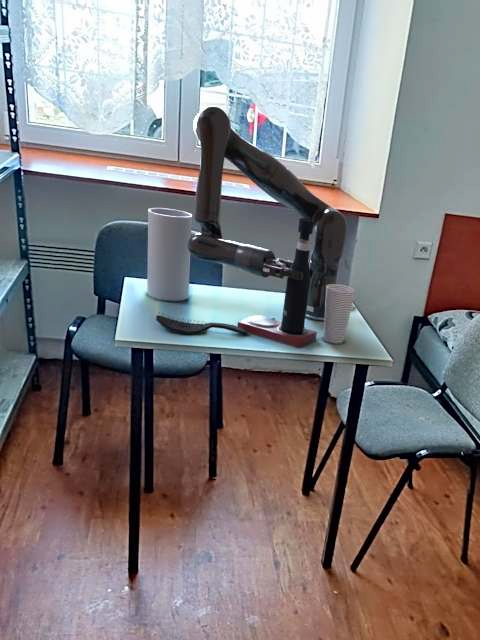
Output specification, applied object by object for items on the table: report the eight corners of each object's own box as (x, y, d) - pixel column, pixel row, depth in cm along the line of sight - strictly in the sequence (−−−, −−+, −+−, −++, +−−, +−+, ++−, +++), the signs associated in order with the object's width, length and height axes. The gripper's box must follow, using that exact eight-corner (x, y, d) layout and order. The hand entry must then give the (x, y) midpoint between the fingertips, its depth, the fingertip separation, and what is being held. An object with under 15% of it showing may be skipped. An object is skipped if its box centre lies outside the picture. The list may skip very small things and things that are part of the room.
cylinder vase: (187, 303, 203) (191, 219, 191) (145, 299, 200) (146, 213, 188) (188, 293, 213) (192, 212, 201) (148, 288, 210) (149, 206, 198)
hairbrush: (250, 329, 181) (156, 317, 173) (248, 342, 183) (155, 330, 175) (246, 320, 188) (156, 308, 180) (245, 332, 190) (155, 321, 182)
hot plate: (258, 321, 199) (259, 312, 197) (317, 338, 193) (318, 329, 192) (237, 329, 189) (238, 319, 187) (298, 347, 183) (299, 338, 182)
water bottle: (306, 329, 190) (322, 221, 176) (298, 334, 184) (313, 223, 170) (286, 323, 191) (300, 216, 177) (277, 328, 186) (290, 218, 171)
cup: (344, 347, 190) (353, 294, 183) (316, 341, 191) (323, 288, 183) (349, 339, 198) (357, 287, 190) (321, 333, 198) (329, 282, 191)
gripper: (242, 249, 176) (297, 264, 172) (268, 244, 188) (321, 258, 184) (239, 277, 180) (293, 292, 175) (266, 270, 192) (317, 285, 187)
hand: (307, 275), depth 180 cm, fingers closed on water bottle, 6 cm apart
